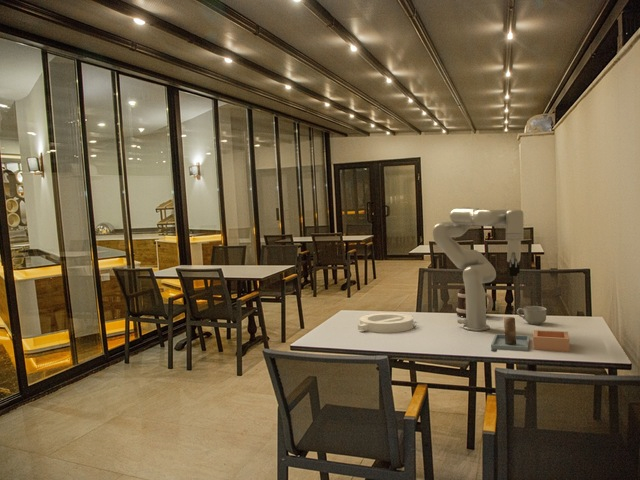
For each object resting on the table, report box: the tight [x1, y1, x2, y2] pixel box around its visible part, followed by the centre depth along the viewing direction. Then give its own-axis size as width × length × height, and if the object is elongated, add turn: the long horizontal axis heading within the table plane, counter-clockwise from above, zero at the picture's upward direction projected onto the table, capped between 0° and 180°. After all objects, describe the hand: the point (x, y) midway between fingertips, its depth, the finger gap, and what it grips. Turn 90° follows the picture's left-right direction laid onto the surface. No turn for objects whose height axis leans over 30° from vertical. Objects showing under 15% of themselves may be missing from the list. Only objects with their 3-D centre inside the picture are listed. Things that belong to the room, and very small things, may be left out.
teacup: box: [516, 305, 547, 325], centre depth 250 cm, size 14×11×8 cm
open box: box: [532, 329, 570, 352], centre depth 201 cm, size 13×13×6 cm
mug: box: [456, 287, 494, 318], centre depth 275 cm, size 20×15×15 cm
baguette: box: [503, 316, 517, 345], centre depth 208 cm, size 4×4×11 cm
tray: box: [490, 333, 530, 352], centre depth 208 cm, size 14×20×2 cm
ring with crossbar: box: [357, 312, 414, 334], centre depth 257 cm, size 28×28×5 cm
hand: (514, 274), depth 223 cm, fingers open, 9 cm apart
